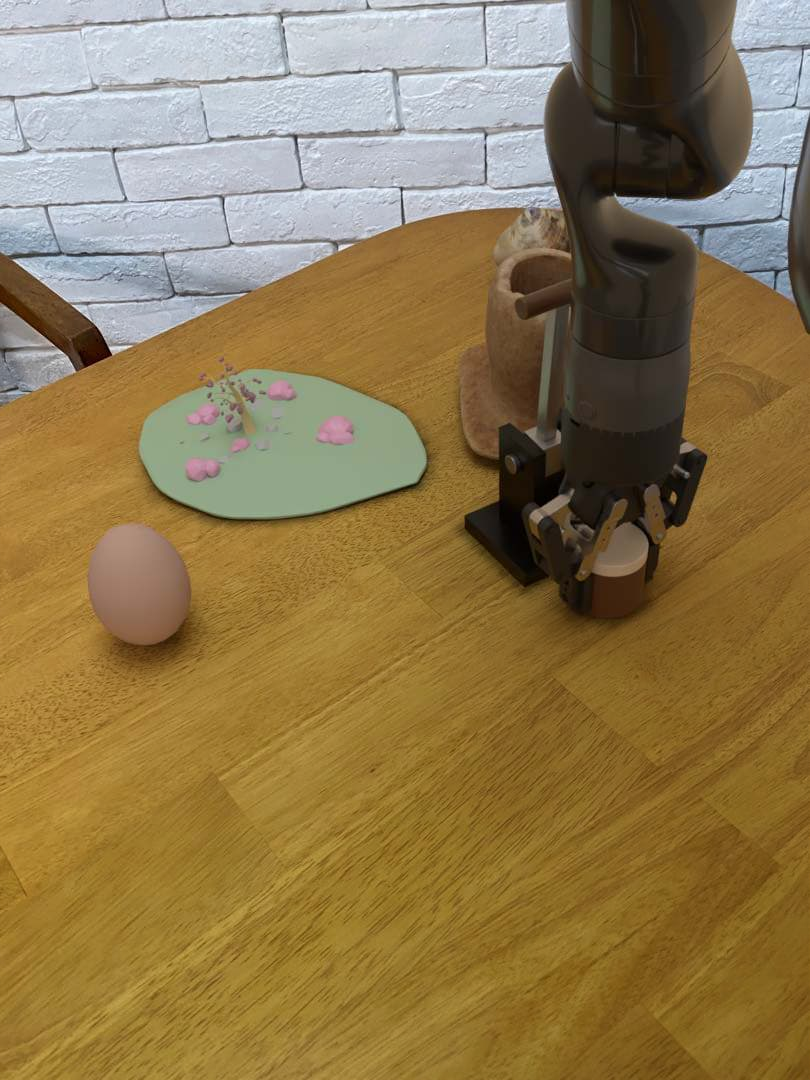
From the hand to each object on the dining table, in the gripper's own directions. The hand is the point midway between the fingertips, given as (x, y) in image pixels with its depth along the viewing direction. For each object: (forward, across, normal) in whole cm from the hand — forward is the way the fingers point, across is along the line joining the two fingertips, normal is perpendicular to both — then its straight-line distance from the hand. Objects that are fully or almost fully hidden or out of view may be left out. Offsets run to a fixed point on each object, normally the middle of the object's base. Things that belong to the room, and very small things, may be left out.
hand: (607, 590), depth 81 cm
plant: (+1, +11, -30) cm, 32 cm away
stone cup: (+1, -8, -21) cm, 22 cm away
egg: (+1, +29, -15) cm, 33 cm away
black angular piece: (0, 0, -8) cm, 8 cm away
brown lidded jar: (0, 0, 0) cm, 0 cm away
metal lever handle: (-14, 0, -6) cm, 15 cm away
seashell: (+1, -23, -40) cm, 46 cm away
